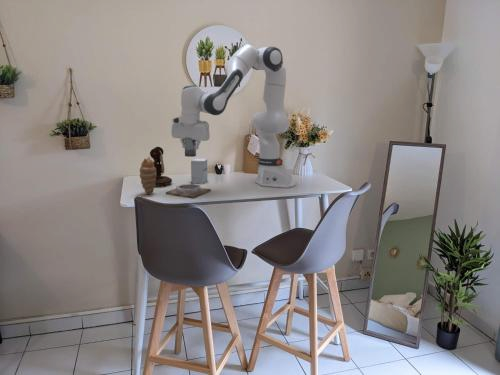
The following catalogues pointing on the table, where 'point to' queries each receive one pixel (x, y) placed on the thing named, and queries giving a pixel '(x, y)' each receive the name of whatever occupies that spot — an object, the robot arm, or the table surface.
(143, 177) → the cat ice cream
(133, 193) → the table surface
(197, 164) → the supplement box
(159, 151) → the dark brown tall piece
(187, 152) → the piston
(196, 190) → the ring board
